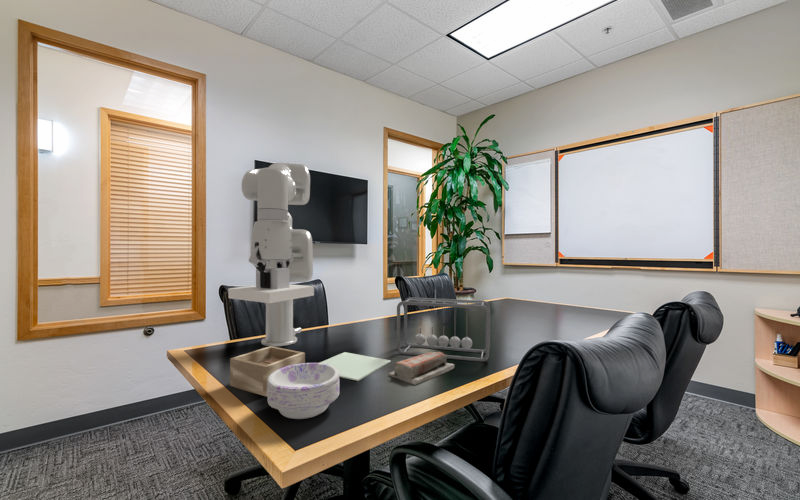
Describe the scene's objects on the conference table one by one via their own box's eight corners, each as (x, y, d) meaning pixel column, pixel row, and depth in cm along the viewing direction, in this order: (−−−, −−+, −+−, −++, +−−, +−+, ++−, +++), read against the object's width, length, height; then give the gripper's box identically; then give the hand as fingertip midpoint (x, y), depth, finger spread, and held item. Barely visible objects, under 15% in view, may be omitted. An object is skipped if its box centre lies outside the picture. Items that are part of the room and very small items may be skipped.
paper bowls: (276, 434, 67) (276, 393, 67) (260, 404, 80) (260, 369, 80) (350, 415, 75) (350, 377, 75) (325, 390, 88) (325, 358, 88)
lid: (274, 291, 103) (275, 265, 103) (314, 295, 96) (314, 267, 96) (228, 298, 90) (228, 268, 90) (269, 303, 83) (269, 271, 83)
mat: (344, 353, 118) (344, 352, 118) (391, 361, 110) (391, 360, 110) (306, 369, 102) (306, 368, 102) (357, 381, 94) (357, 379, 94)
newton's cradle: (396, 354, 118) (396, 301, 118) (404, 345, 128) (404, 296, 128) (489, 362, 110) (489, 305, 110) (489, 353, 120) (490, 300, 120)
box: (270, 370, 102) (270, 346, 101) (304, 378, 95) (304, 352, 95) (230, 386, 90) (230, 358, 90) (266, 396, 84) (266, 367, 84)
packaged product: (415, 368, 91) (388, 360, 98) (415, 387, 91) (388, 377, 98) (455, 353, 104) (428, 346, 111) (455, 369, 105) (428, 362, 111)
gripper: (286, 219, 102) (286, 283, 102) (235, 215, 87) (235, 289, 88) (306, 218, 98) (306, 284, 99) (255, 214, 84) (255, 291, 84)
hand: (272, 286), depth 93 cm, fingers closed on lid, 4 cm apart
